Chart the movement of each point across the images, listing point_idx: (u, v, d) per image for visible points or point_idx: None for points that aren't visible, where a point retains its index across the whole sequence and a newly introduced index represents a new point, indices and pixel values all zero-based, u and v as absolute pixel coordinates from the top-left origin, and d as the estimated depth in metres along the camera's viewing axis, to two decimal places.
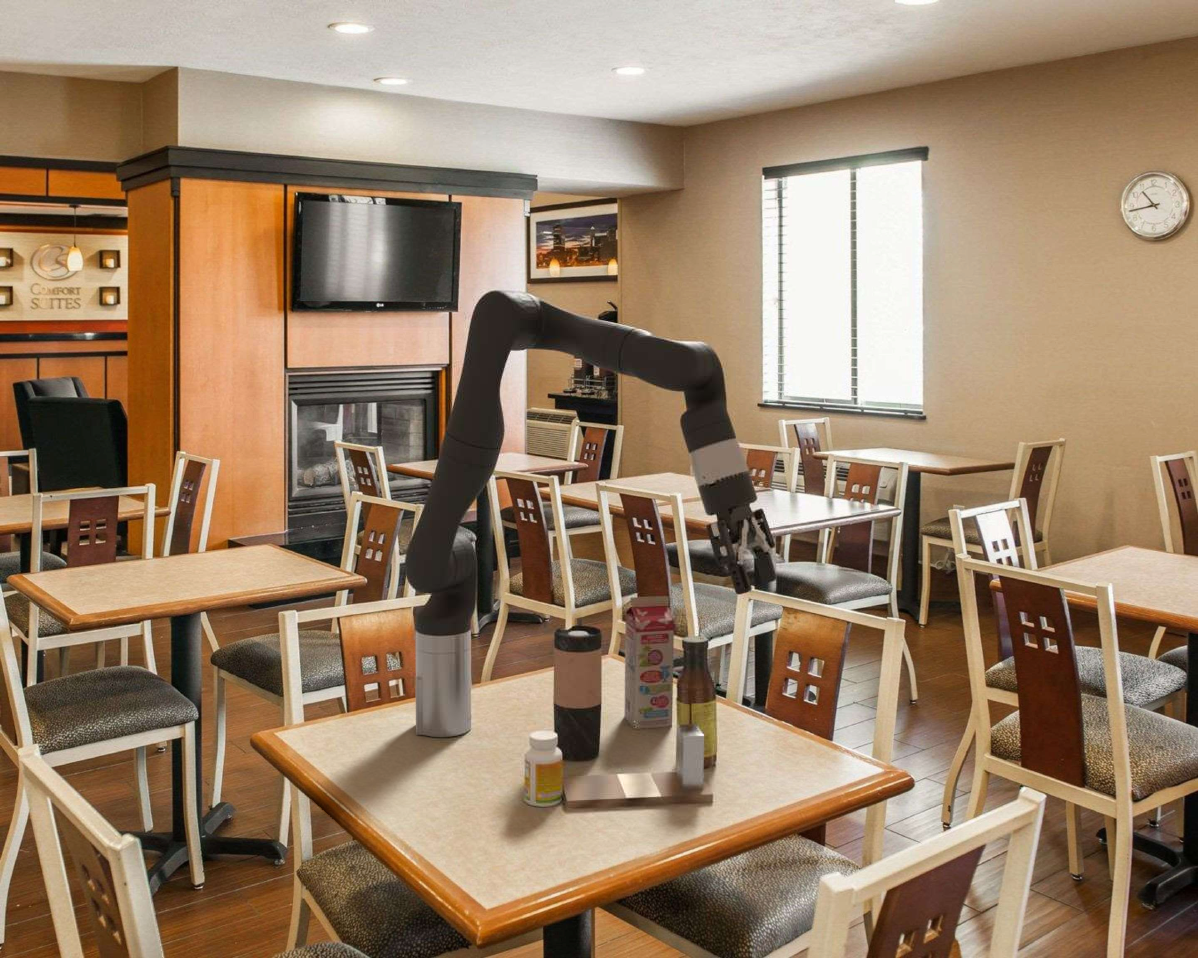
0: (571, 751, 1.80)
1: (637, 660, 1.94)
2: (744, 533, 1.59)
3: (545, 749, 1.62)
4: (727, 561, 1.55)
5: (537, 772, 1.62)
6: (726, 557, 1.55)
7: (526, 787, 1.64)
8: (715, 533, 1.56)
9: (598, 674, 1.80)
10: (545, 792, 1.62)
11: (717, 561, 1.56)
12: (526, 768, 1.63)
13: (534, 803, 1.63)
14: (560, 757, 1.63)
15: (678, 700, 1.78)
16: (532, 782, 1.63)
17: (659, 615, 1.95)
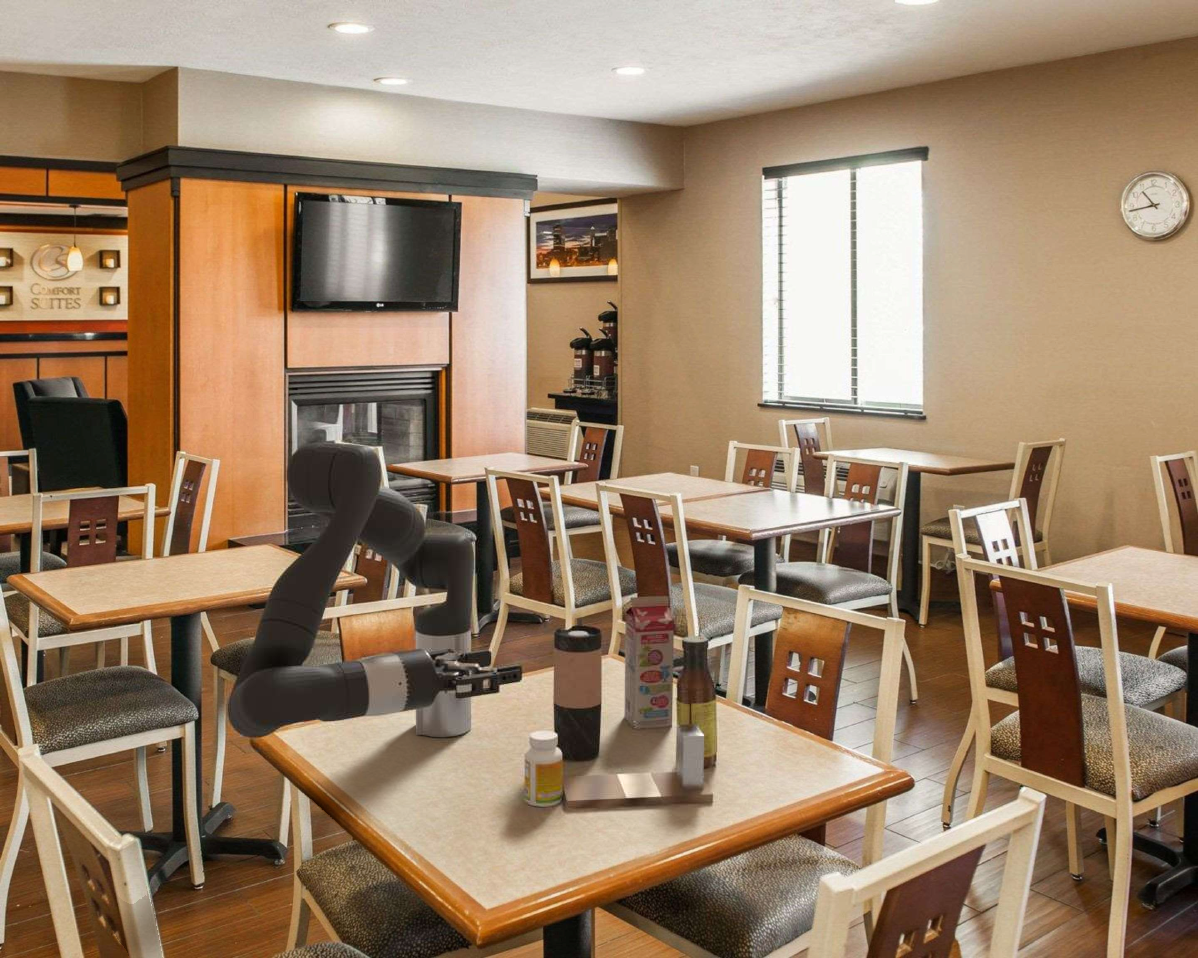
0: (571, 751, 1.80)
1: (637, 660, 1.94)
2: None
3: (545, 749, 1.62)
4: None
5: (537, 772, 1.62)
6: None
7: (526, 787, 1.64)
8: None
9: (598, 674, 1.80)
10: (545, 792, 1.62)
11: None
12: (526, 768, 1.63)
13: (534, 803, 1.63)
14: (560, 757, 1.63)
15: (678, 700, 1.78)
16: (532, 782, 1.63)
17: (659, 615, 1.95)
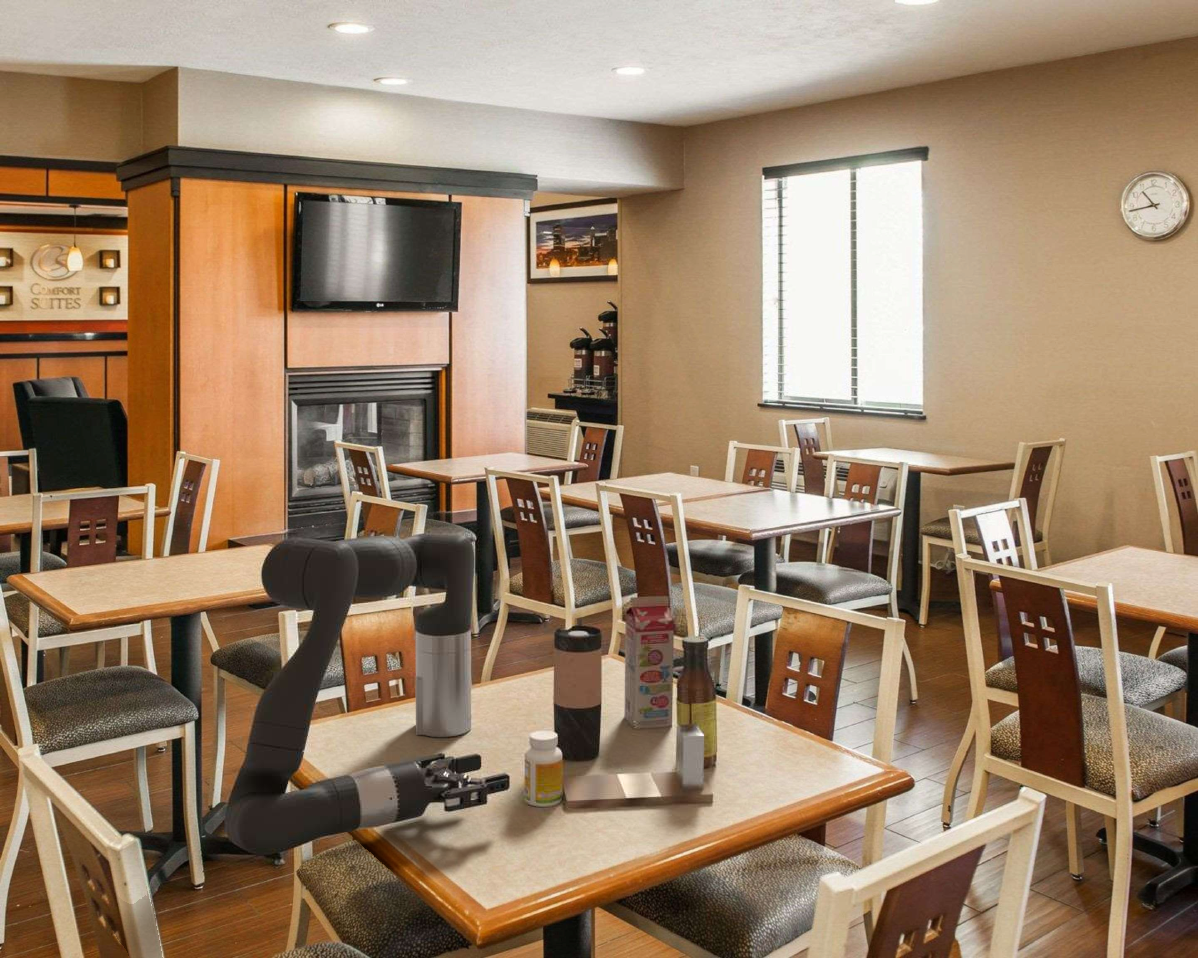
0: (571, 751, 1.80)
1: (637, 660, 1.94)
2: None
3: (545, 749, 1.62)
4: None
5: (537, 772, 1.62)
6: None
7: (526, 787, 1.64)
8: None
9: (598, 674, 1.80)
10: (545, 792, 1.62)
11: None
12: (526, 768, 1.63)
13: (534, 803, 1.63)
14: (560, 757, 1.63)
15: (678, 700, 1.78)
16: (532, 782, 1.63)
17: (659, 615, 1.95)
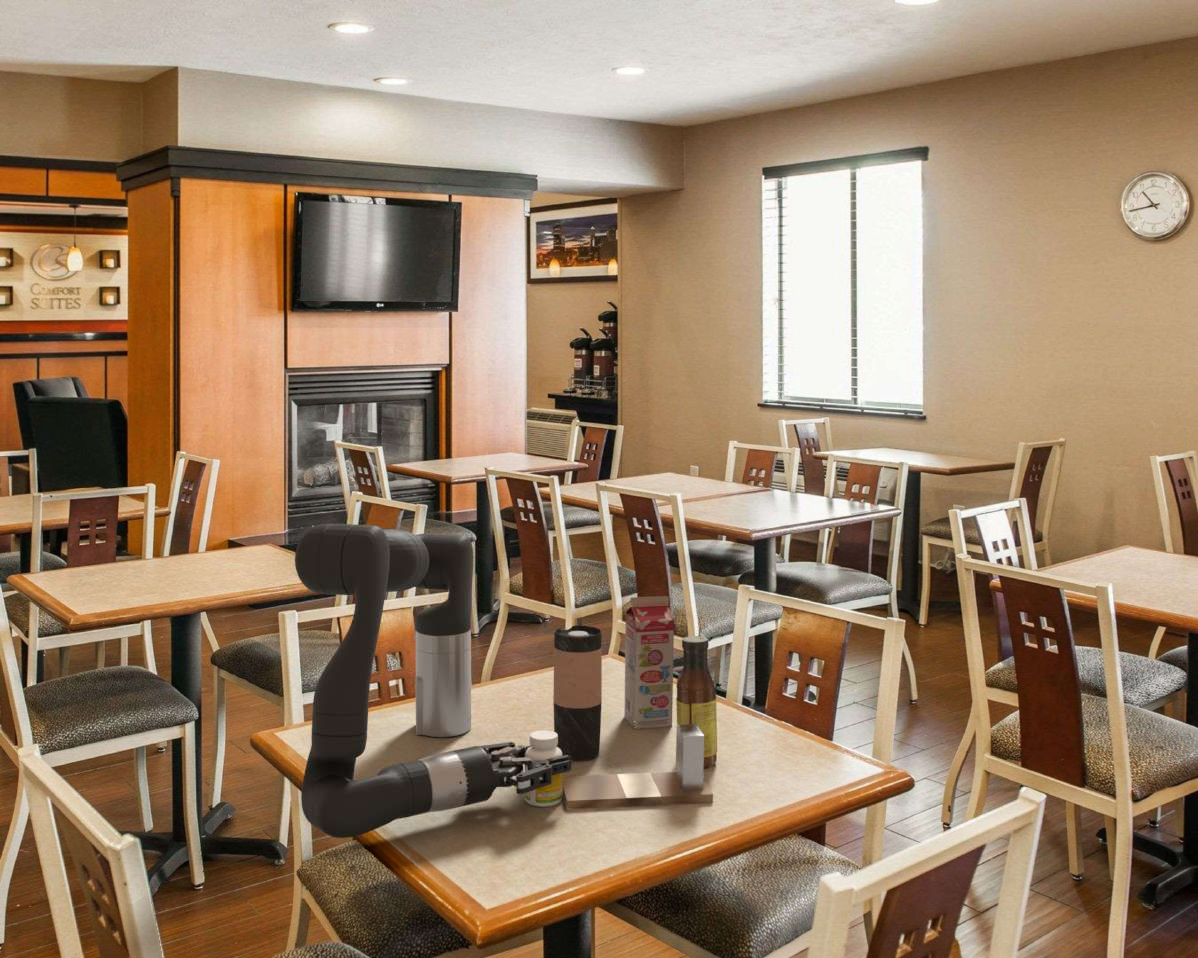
0: (571, 751, 1.80)
1: (637, 660, 1.94)
2: None
3: (545, 749, 1.62)
4: None
5: None
6: None
7: None
8: None
9: (598, 674, 1.80)
10: (545, 792, 1.62)
11: None
12: None
13: (534, 803, 1.63)
14: None
15: (678, 700, 1.78)
16: None
17: (659, 615, 1.95)
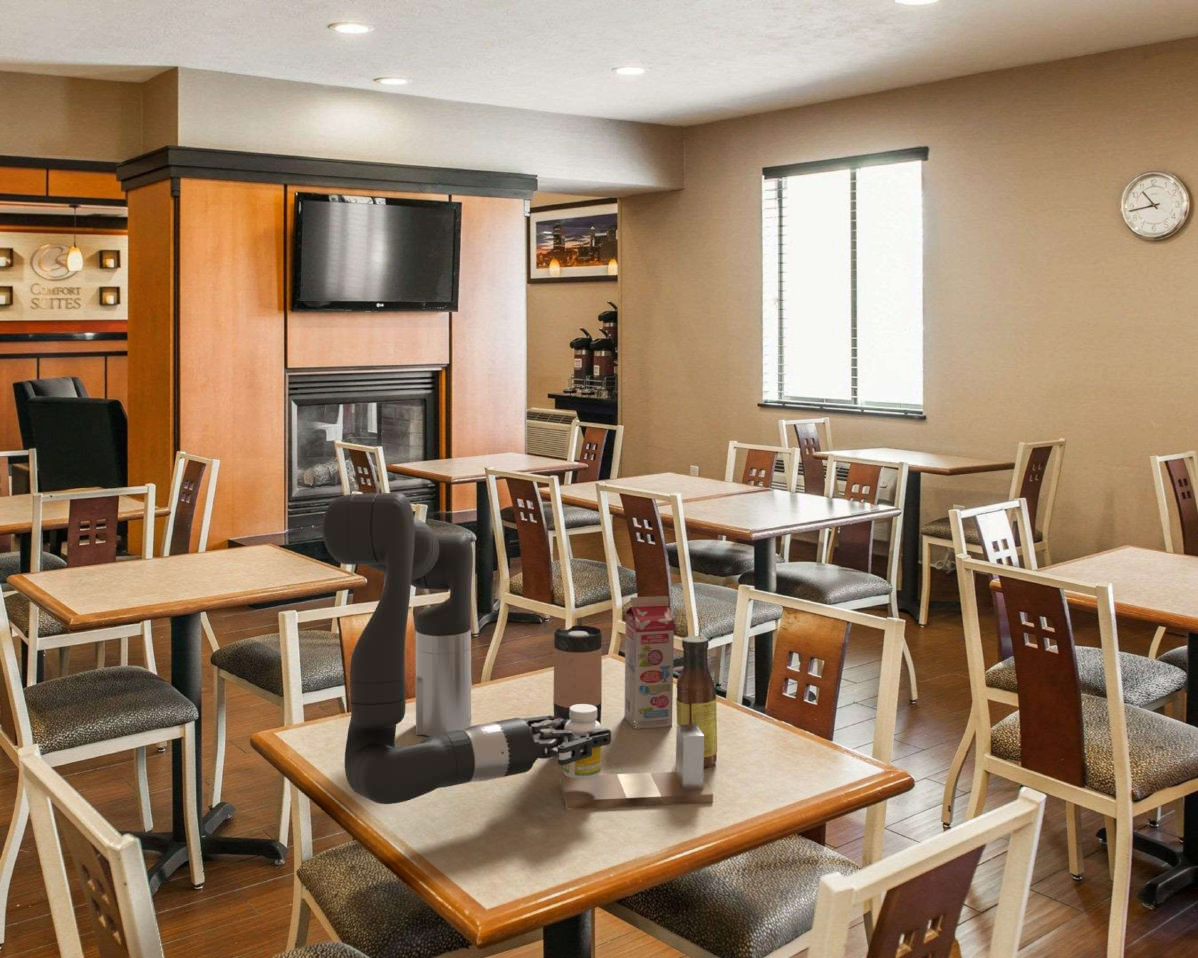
0: None
1: (637, 660, 1.94)
2: None
3: (585, 722, 1.63)
4: None
5: None
6: None
7: None
8: None
9: (598, 674, 1.80)
10: (584, 765, 1.63)
11: None
12: (566, 741, 1.64)
13: (573, 775, 1.63)
14: None
15: (678, 700, 1.78)
16: None
17: (659, 615, 1.95)
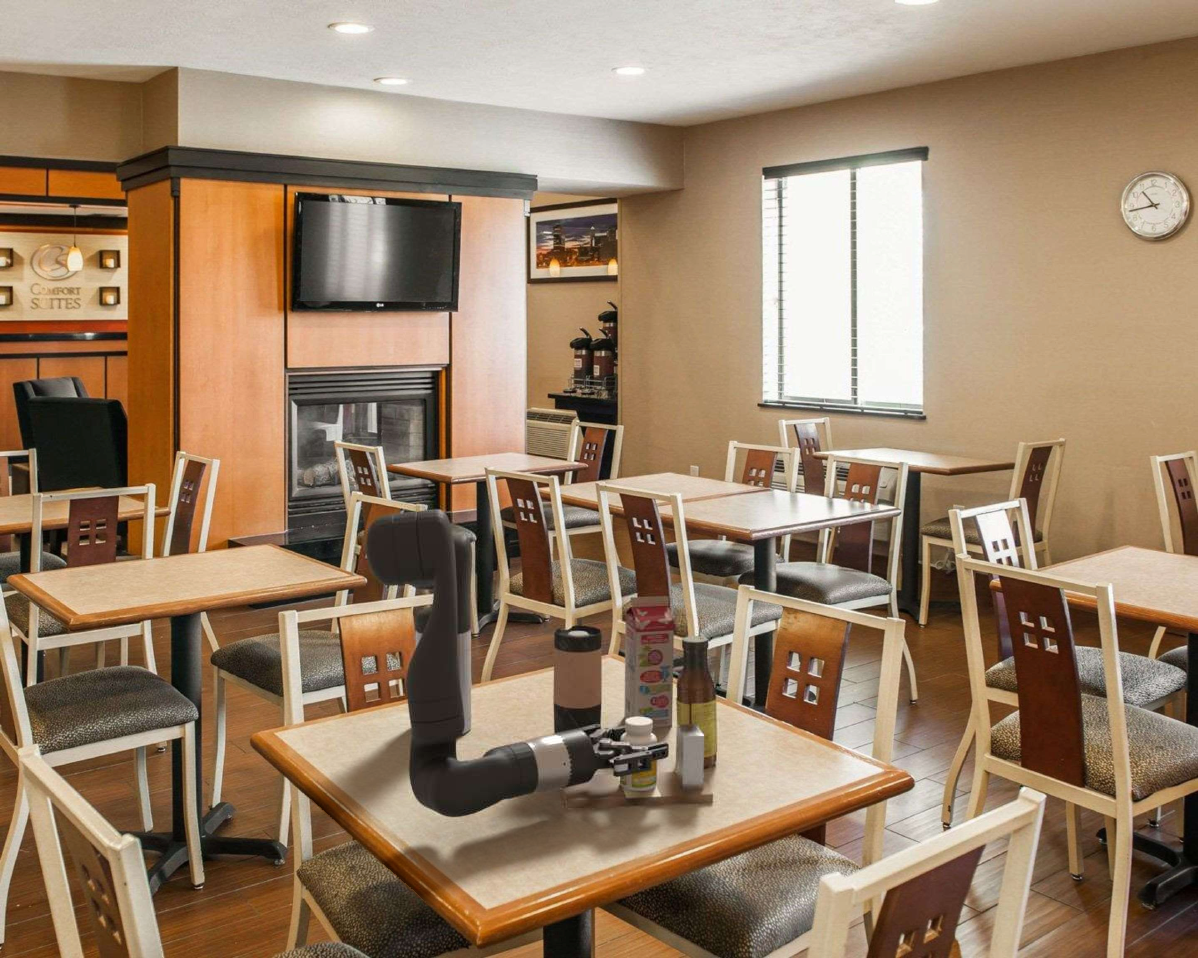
0: None
1: (637, 660, 1.94)
2: None
3: (641, 735, 1.65)
4: None
5: None
6: None
7: None
8: None
9: (598, 674, 1.80)
10: (641, 777, 1.65)
11: None
12: (622, 753, 1.66)
13: (630, 787, 1.65)
14: (655, 742, 1.66)
15: (678, 700, 1.78)
16: None
17: (659, 615, 1.95)
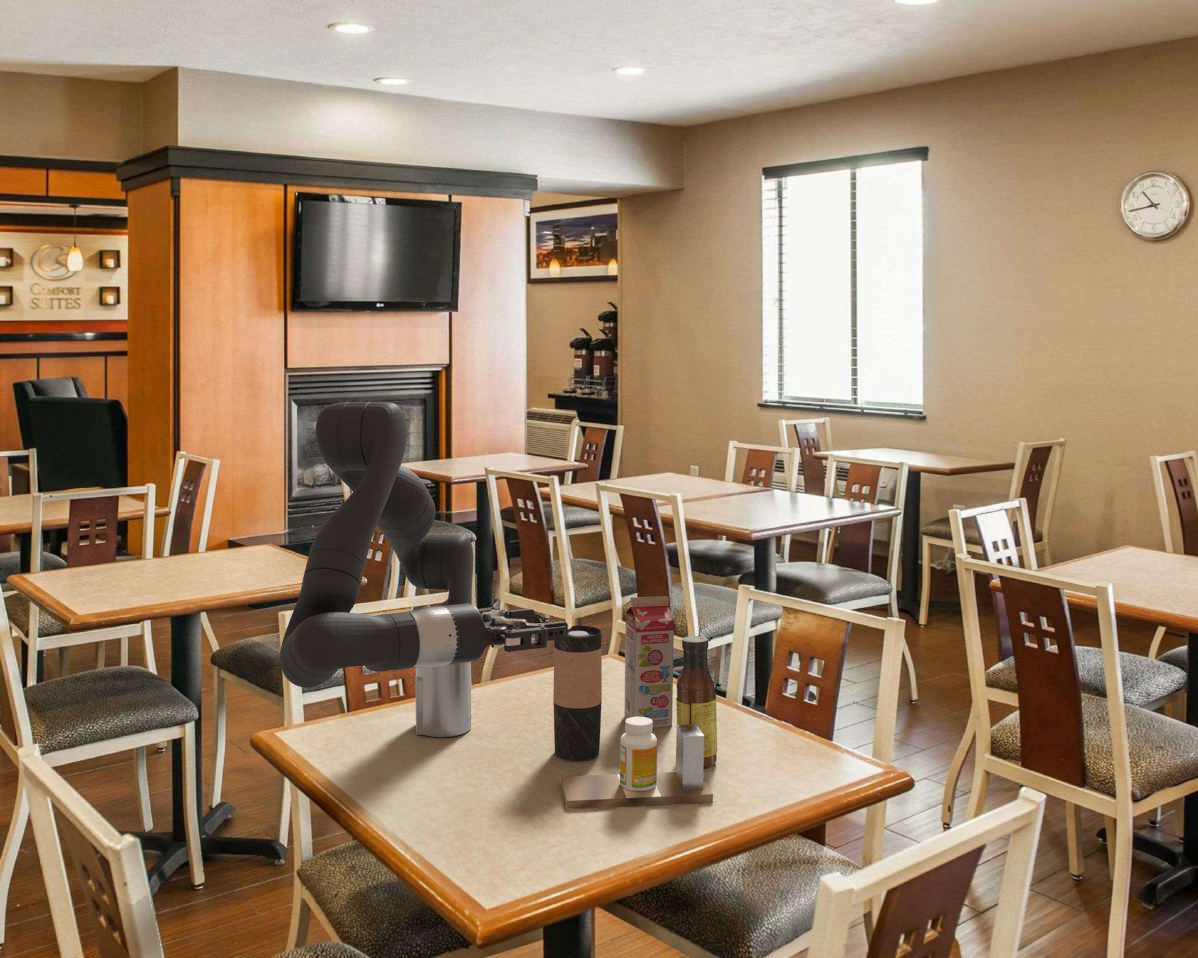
0: (571, 751, 1.80)
1: (637, 660, 1.94)
2: None
3: (641, 735, 1.65)
4: None
5: (633, 757, 1.65)
6: None
7: (622, 772, 1.66)
8: None
9: (598, 674, 1.80)
10: (641, 777, 1.65)
11: None
12: (622, 753, 1.66)
13: (630, 787, 1.65)
14: (655, 742, 1.66)
15: (678, 700, 1.78)
16: (628, 767, 1.65)
17: (659, 615, 1.95)
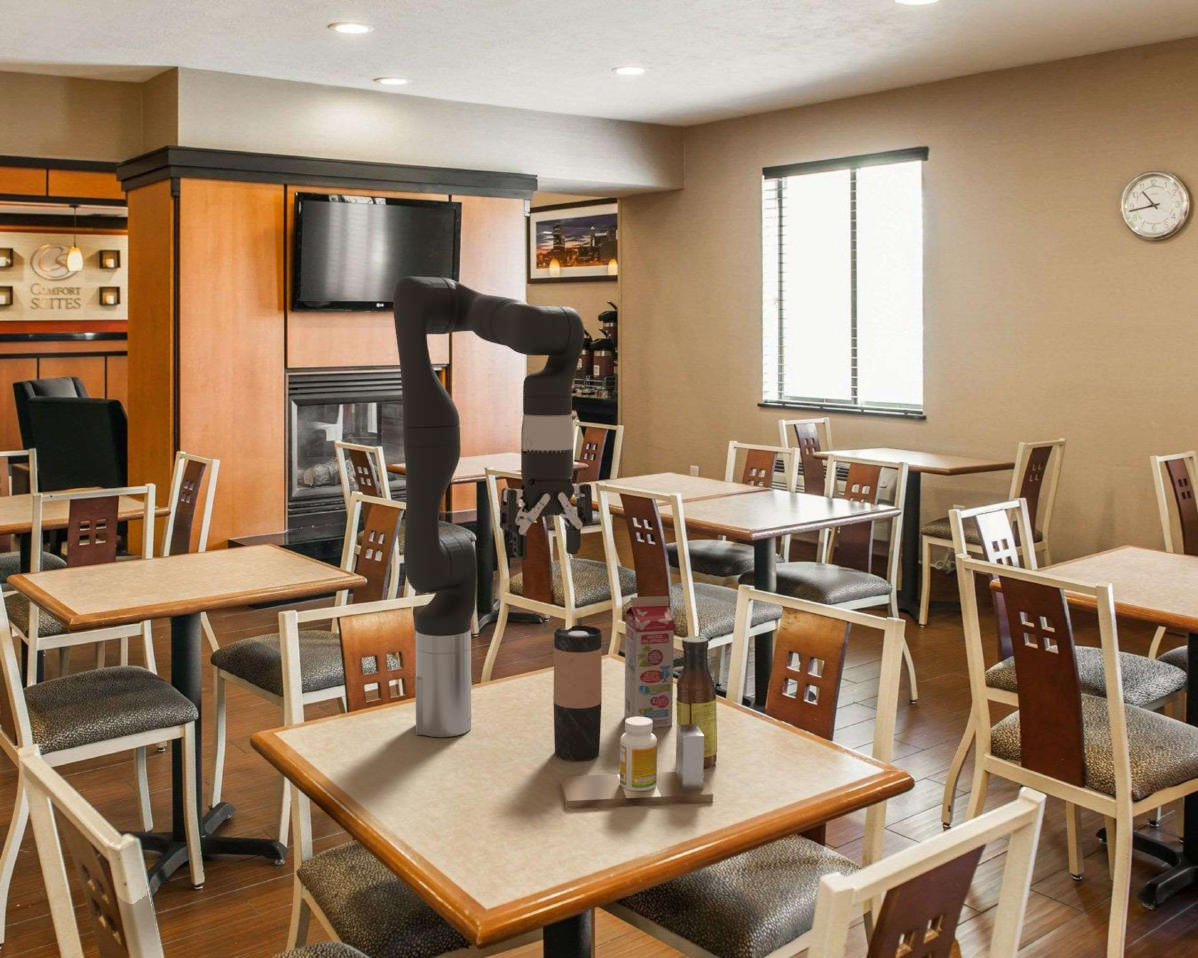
0: (571, 751, 1.80)
1: (637, 660, 1.94)
2: (539, 506, 1.64)
3: (641, 735, 1.65)
4: (505, 528, 1.63)
5: (633, 757, 1.65)
6: (506, 524, 1.63)
7: (622, 772, 1.66)
8: (504, 499, 1.63)
9: (598, 674, 1.80)
10: (641, 777, 1.65)
11: (500, 524, 1.64)
12: (622, 753, 1.66)
13: (630, 787, 1.65)
14: (655, 742, 1.66)
15: (678, 700, 1.78)
16: (628, 767, 1.65)
17: (659, 615, 1.95)
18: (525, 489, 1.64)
